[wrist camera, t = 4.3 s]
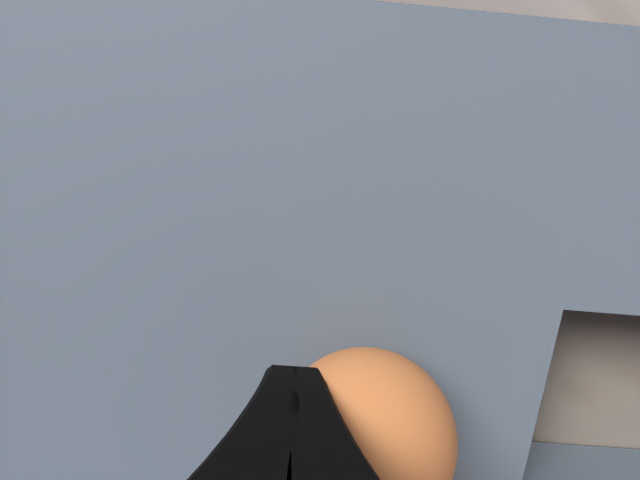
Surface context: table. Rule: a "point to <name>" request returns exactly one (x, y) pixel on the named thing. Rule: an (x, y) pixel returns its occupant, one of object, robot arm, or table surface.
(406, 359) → the ball
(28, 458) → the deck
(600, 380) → the table surface
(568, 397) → the table surface
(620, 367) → the table surface
